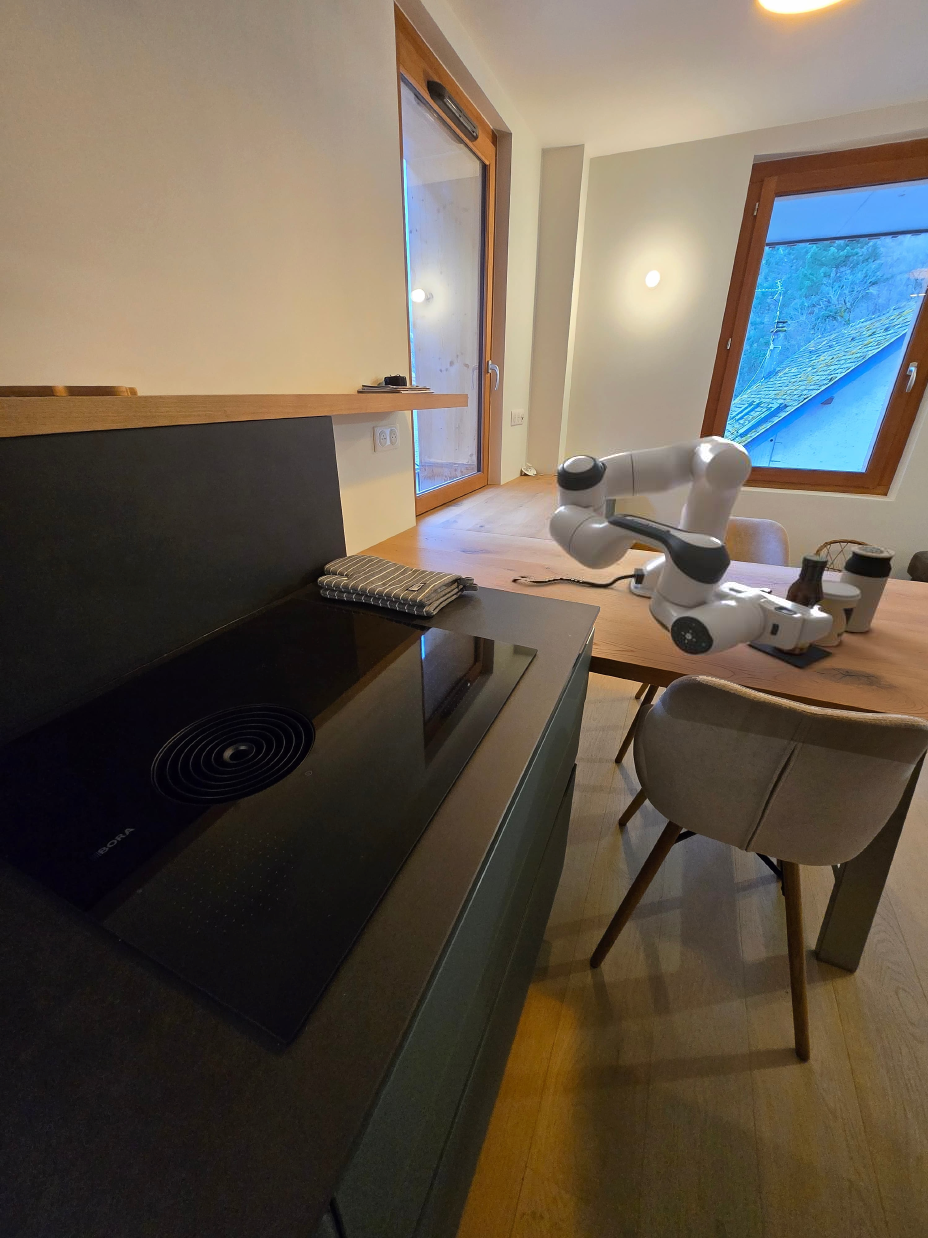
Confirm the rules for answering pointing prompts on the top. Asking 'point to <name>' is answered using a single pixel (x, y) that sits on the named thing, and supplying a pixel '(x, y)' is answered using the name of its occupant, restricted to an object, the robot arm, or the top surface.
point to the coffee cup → (837, 609)
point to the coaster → (794, 659)
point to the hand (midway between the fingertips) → (791, 600)
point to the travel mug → (866, 582)
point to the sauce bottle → (807, 590)
